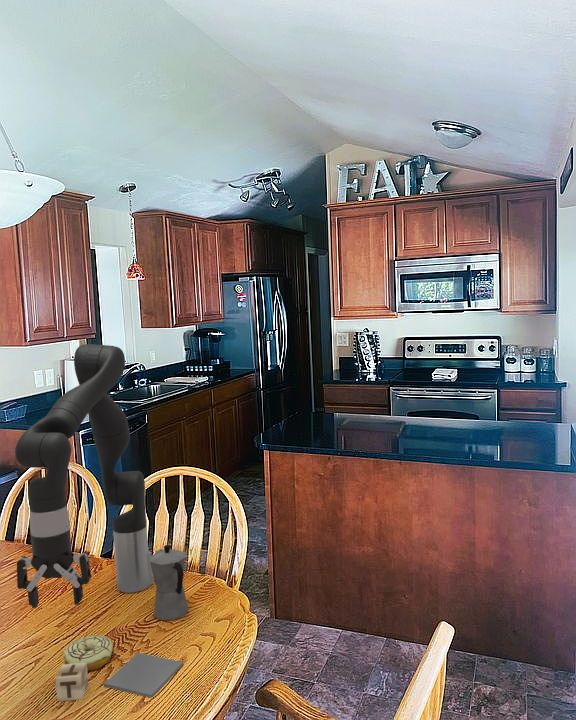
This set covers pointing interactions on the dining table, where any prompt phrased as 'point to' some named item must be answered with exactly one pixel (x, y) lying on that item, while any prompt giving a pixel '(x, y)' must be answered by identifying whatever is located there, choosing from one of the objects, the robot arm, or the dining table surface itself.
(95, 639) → the decorated donut
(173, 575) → the coffeepot
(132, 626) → the dining table surface
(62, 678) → the letter block
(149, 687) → the slate coaster
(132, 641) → the dining table surface
